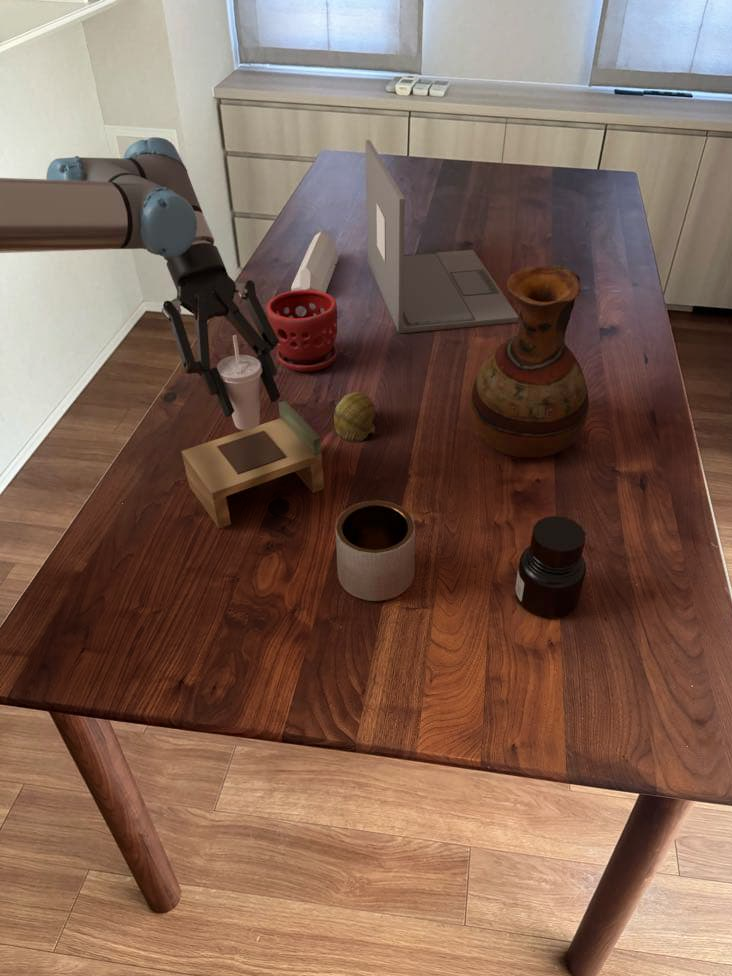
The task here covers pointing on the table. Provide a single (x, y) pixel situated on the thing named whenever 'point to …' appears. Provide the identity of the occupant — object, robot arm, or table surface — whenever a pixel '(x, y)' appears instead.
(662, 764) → the table surface
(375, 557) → the planter
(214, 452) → the small wooden bench
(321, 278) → the white triangular prism
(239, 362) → the smoothie
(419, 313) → the laptop
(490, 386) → the clay vase
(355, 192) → the table surface
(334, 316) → the flower pot
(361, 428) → the seashell
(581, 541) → the ink bottle
